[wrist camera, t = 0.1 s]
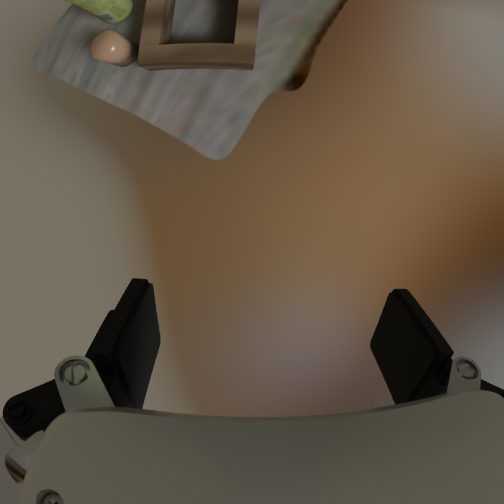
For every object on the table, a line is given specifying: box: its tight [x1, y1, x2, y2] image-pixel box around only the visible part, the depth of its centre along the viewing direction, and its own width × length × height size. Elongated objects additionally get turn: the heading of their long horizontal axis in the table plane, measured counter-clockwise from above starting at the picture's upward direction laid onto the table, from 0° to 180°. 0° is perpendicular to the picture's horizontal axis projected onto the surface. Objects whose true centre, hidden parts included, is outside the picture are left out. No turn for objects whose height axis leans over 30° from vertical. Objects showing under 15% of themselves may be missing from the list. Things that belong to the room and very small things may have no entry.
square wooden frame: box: [137, 0, 260, 71], centre depth 27 cm, size 14×14×5 cm
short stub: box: [90, 30, 138, 67], centre depth 27 cm, size 4×4×7 cm
